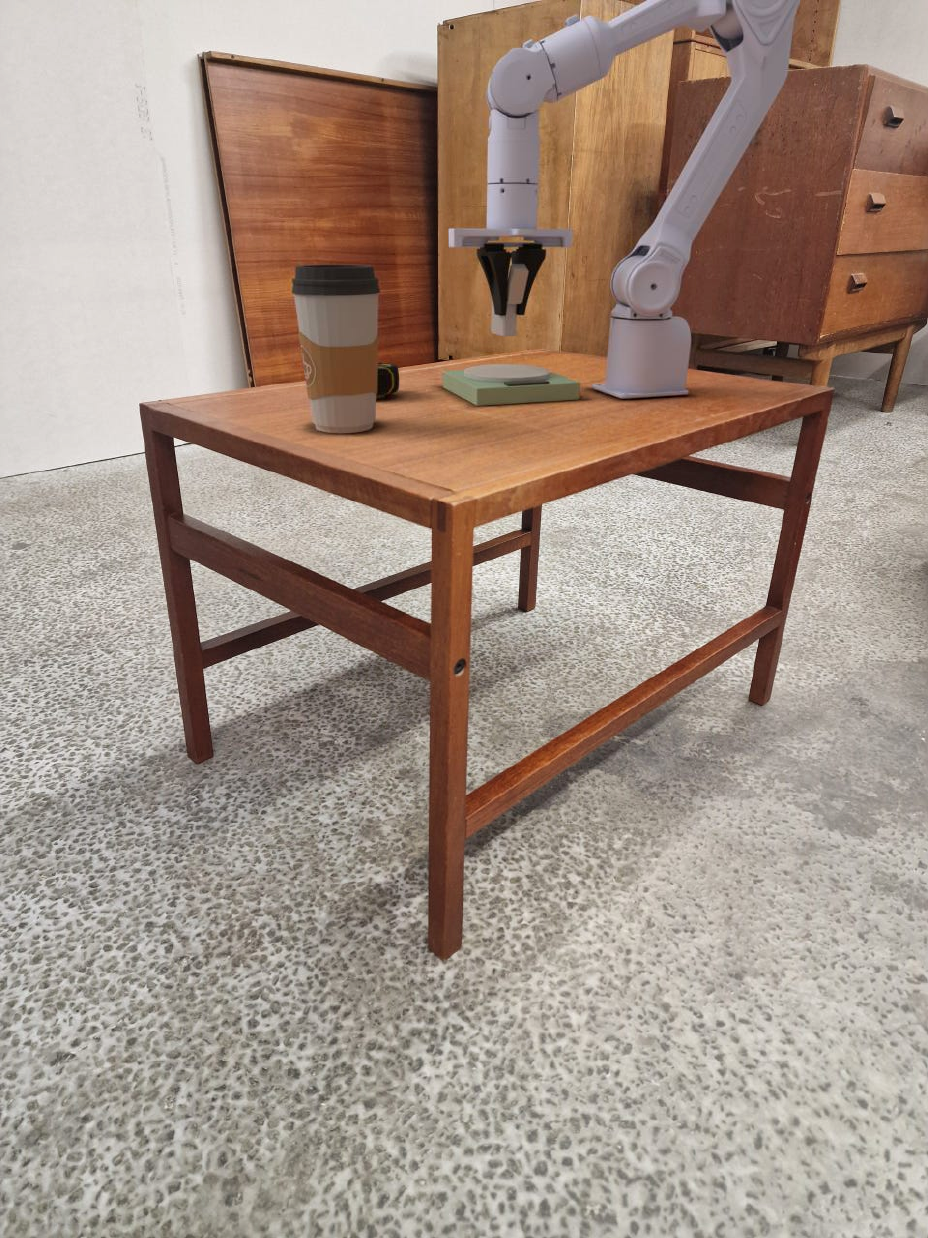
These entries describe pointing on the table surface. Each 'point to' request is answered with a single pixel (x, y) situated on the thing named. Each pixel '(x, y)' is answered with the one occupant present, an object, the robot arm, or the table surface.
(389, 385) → the tape measure
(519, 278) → the lighter
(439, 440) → the table surface
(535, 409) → the table surface
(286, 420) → the table surface
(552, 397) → the scale
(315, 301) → the coffee cup
